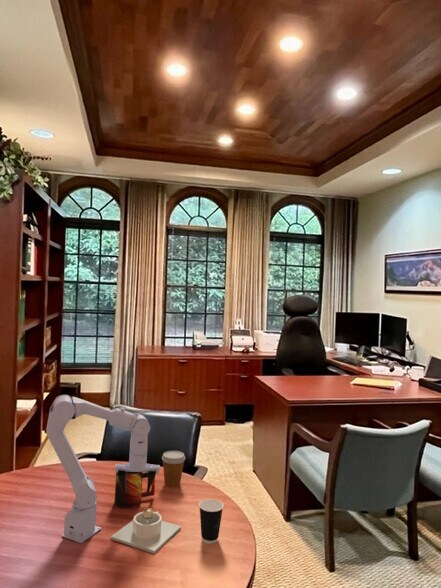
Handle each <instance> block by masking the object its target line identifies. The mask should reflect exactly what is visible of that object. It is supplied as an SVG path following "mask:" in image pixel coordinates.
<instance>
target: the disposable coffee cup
mask: <svg viewBox="0 0 441 588" xmlns="http://www.w3.org/2000/svg"><path fill="white" fill-rule="evenodd" d="M161 459H162V468H163V480H164V486H166V487H167V488H178V487H179V486H180V485H181V481H182V474H183V469H184V463H185V460H186V456H185V453H184V452H182V451H179V450H168V451H165V452H163V454H162V456H161Z"/></svg>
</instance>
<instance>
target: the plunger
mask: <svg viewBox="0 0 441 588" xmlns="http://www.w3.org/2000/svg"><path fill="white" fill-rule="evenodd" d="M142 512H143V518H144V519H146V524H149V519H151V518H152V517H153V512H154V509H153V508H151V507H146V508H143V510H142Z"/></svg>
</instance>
